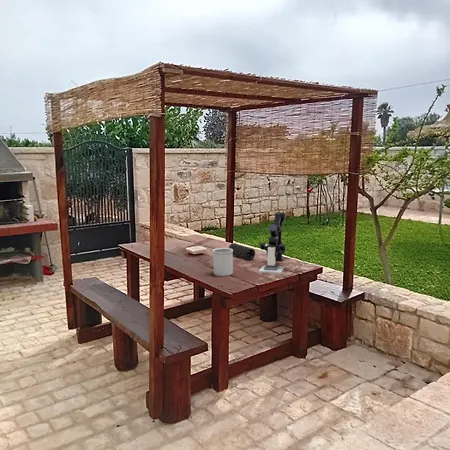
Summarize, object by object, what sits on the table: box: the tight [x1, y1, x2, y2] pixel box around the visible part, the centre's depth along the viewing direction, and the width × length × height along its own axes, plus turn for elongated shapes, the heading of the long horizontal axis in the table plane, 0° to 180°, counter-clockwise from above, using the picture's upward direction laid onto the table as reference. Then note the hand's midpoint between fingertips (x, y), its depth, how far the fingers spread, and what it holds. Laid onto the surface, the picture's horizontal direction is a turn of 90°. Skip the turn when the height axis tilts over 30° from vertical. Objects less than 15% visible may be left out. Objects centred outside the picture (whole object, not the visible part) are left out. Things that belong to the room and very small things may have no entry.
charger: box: [266, 247, 276, 266], centre depth 318 cm, size 5×5×13 cm
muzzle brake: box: [228, 242, 256, 261], centre depth 362 cm, size 10×28×10 cm, turn 32°
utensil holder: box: [212, 247, 234, 277], centre depth 311 cm, size 15×15×18 cm
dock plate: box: [258, 264, 285, 275], centre depth 319 cm, size 16×16×3 cm
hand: (271, 256), depth 317 cm, fingers closed on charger, 5 cm apart
